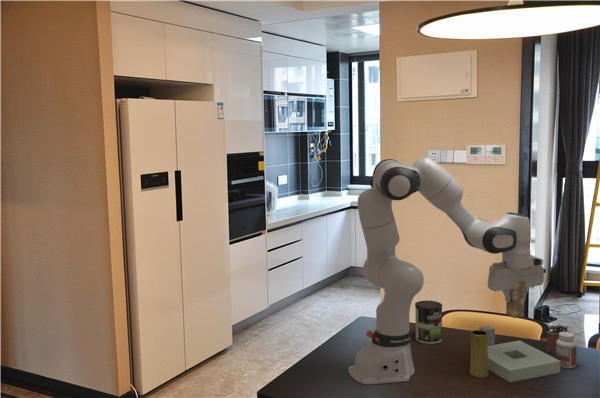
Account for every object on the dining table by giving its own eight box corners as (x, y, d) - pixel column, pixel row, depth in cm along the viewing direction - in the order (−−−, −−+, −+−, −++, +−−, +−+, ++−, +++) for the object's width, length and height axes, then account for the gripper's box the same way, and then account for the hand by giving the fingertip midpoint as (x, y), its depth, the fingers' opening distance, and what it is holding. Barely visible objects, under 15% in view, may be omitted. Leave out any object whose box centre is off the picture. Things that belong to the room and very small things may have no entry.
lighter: (568, 350, 204) (569, 323, 203) (572, 354, 201) (572, 327, 200) (545, 350, 205) (545, 323, 204) (548, 353, 202) (549, 327, 201)
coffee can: (447, 341, 217) (447, 305, 215) (425, 345, 213) (425, 309, 212) (431, 332, 227) (431, 298, 225) (410, 337, 223) (409, 302, 221)
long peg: (513, 317, 188) (514, 283, 187) (506, 314, 192) (507, 280, 191) (523, 316, 190) (525, 281, 188) (515, 312, 193) (516, 278, 192)
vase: (465, 372, 189) (465, 331, 187) (480, 368, 191) (480, 328, 190) (478, 379, 183) (478, 337, 182) (492, 375, 186) (493, 333, 184)
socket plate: (509, 382, 180) (509, 370, 180) (472, 359, 199) (472, 348, 199) (560, 372, 186) (560, 361, 186) (519, 351, 205) (519, 340, 205)
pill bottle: (570, 361, 195) (571, 330, 194) (579, 368, 189) (580, 336, 188) (552, 362, 195) (553, 331, 194) (561, 369, 189) (562, 337, 187)
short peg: (485, 345, 211) (485, 330, 211) (479, 342, 215) (479, 327, 214) (494, 344, 213) (494, 328, 212) (488, 340, 216) (488, 325, 216)
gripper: (495, 265, 183) (495, 306, 184) (547, 259, 189) (546, 299, 190) (483, 261, 188) (483, 301, 190) (534, 255, 195) (533, 294, 196)
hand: (515, 300), depth 190 cm, fingers closed on long peg, 4 cm apart
